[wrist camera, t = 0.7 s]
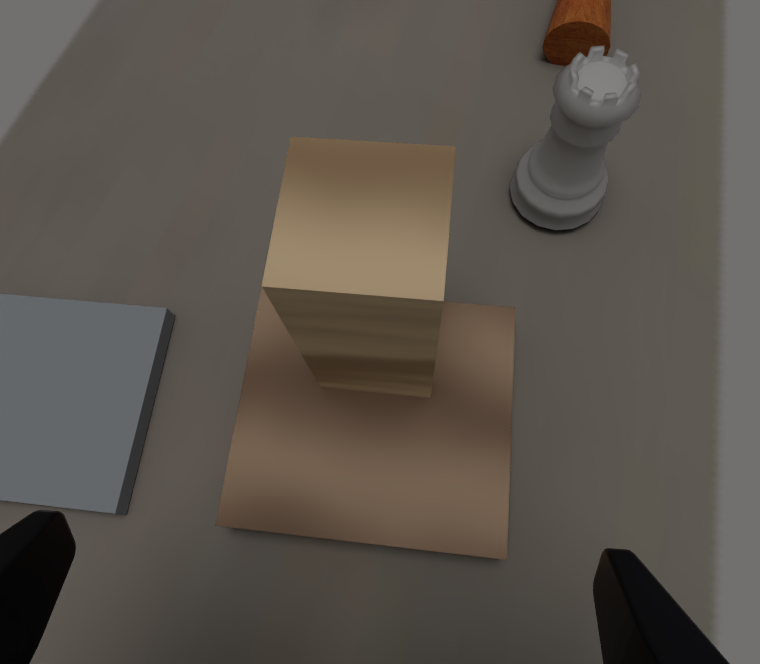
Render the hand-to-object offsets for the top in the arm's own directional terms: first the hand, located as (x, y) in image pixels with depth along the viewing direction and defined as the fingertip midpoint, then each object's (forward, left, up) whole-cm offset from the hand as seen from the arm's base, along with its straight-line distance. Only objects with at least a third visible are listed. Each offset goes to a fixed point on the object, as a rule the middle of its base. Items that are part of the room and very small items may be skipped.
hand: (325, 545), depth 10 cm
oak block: (+8, +1, -13) cm, 15 cm away
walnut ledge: (+5, +1, -15) cm, 16 cm away
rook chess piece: (+17, -7, -15) cm, 24 cm away
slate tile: (+4, +15, -15) cm, 22 cm away
